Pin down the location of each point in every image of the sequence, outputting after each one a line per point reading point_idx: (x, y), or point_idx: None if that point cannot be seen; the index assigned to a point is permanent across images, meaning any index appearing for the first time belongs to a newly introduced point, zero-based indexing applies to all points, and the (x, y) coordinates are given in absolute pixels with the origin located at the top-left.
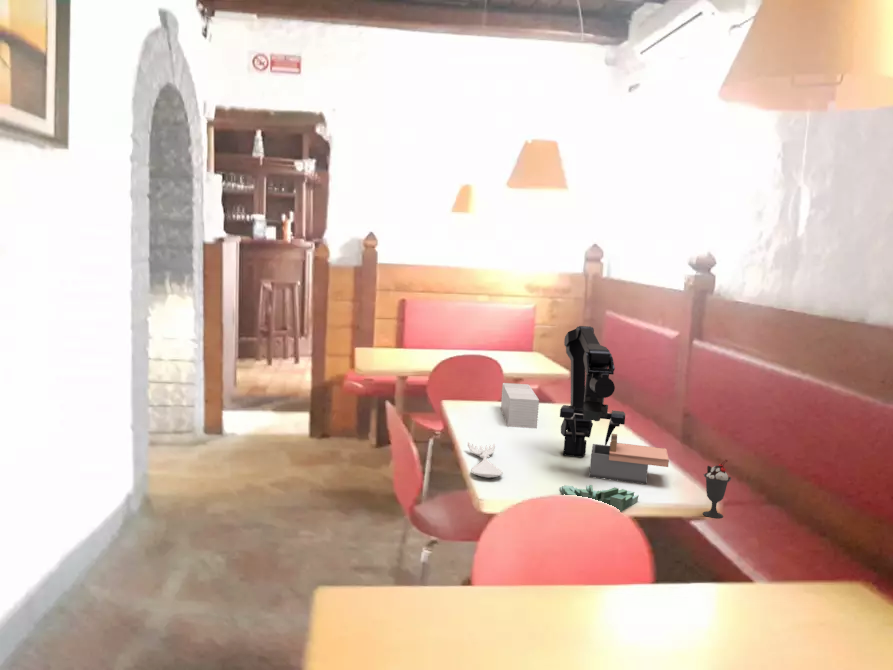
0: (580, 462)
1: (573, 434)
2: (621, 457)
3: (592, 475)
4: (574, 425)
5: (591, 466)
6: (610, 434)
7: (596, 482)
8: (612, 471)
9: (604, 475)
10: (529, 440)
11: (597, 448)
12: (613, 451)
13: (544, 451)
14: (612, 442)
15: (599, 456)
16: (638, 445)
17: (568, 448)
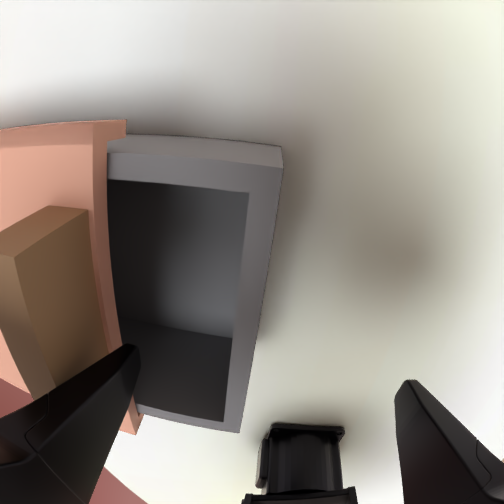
0: (292, 379)
1: (446, 419)
2: (28, 126)
3: (262, 145)
4: (484, 488)
5: (272, 152)
6: (40, 398)
7: (246, 52)
8: (134, 138)
9: (189, 138)
10: (391, 481)
11: (212, 402)
12: (64, 208)
13: (392, 437)
14: (18, 244)
15: (200, 155)
16: (14, 384)
17: (326, 451)
